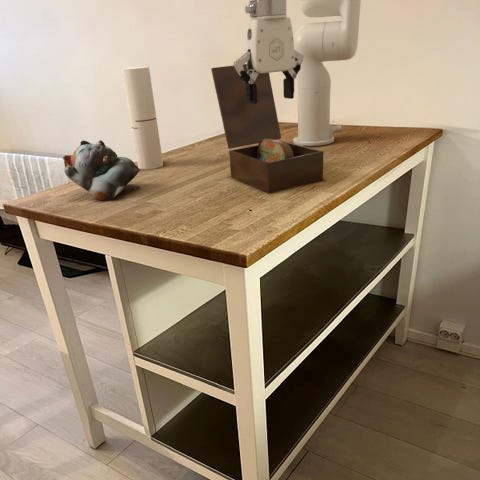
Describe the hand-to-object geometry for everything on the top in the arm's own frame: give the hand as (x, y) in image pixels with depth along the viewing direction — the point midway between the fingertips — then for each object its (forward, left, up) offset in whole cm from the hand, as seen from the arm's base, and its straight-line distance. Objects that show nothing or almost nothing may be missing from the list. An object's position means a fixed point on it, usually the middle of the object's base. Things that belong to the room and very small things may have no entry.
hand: (270, 100), depth 109 cm
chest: (0, 0, -18) cm, 18 cm away
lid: (0, -11, -2) cm, 11 cm away
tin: (0, 0, -17) cm, 17 cm away
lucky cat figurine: (+37, -18, -18) cm, 44 cm away
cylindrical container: (+19, -36, -18) cm, 44 cm away
